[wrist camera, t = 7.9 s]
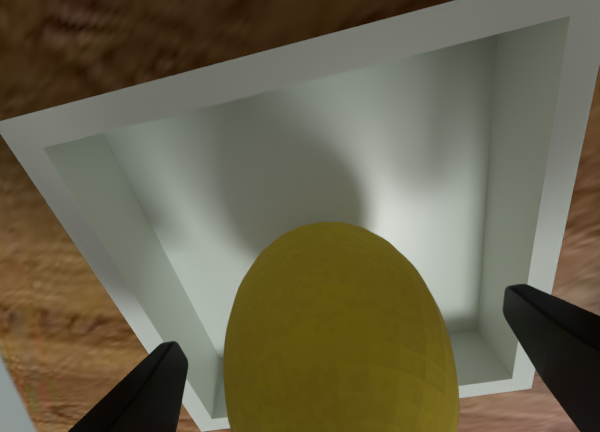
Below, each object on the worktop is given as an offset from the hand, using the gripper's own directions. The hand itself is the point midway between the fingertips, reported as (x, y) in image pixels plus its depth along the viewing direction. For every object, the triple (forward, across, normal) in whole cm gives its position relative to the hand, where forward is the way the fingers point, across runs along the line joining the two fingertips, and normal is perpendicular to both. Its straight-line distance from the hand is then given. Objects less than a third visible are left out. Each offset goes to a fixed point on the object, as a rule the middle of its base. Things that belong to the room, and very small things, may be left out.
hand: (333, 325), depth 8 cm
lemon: (+4, 0, 0) cm, 4 cm away
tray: (+4, 0, 0) cm, 4 cm away
